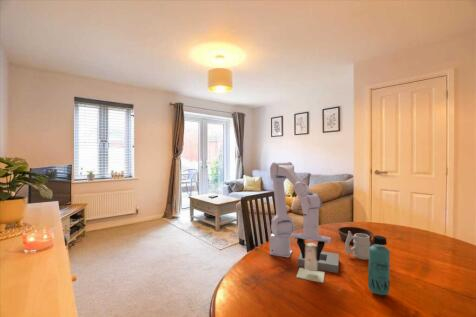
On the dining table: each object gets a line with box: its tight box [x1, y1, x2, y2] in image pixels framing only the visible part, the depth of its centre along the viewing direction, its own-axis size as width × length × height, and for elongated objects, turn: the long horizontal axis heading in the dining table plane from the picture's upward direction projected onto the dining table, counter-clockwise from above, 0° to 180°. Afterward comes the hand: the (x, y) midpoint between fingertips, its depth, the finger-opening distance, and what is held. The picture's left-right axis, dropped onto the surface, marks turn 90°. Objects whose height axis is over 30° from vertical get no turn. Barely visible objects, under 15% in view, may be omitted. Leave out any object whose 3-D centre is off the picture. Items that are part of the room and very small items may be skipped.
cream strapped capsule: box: [303, 242, 318, 271], centre depth 95 cm, size 7×5×9 cm
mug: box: [344, 231, 371, 261], centre depth 112 cm, size 8×12×12 cm, turn 93°
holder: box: [297, 250, 340, 274], centre depth 106 cm, size 16×12×3 cm
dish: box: [337, 226, 375, 246], centre depth 133 cm, size 18×22×5 cm
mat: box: [295, 267, 326, 284], centre depth 96 cm, size 10×8×1 cm
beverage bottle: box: [367, 235, 391, 296], centre depth 83 cm, size 6×7×20 cm
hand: (310, 258), depth 95 cm, fingers closed on cream strapped capsule, 5 cm apart
